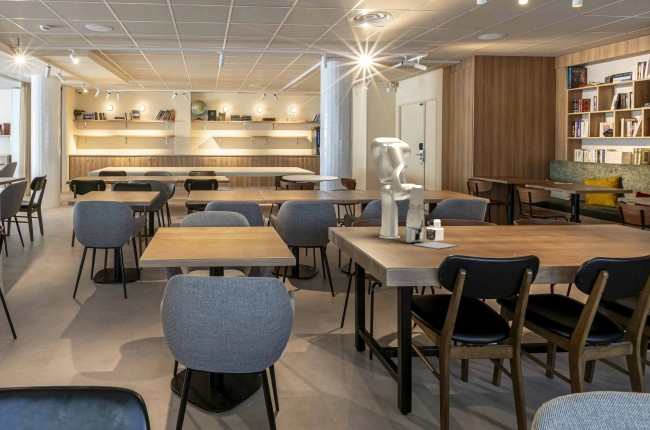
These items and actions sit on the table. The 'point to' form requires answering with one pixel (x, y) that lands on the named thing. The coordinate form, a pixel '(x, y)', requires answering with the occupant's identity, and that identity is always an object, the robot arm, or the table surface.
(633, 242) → the table surface
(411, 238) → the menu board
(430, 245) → the mat
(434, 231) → the medicine bottle
